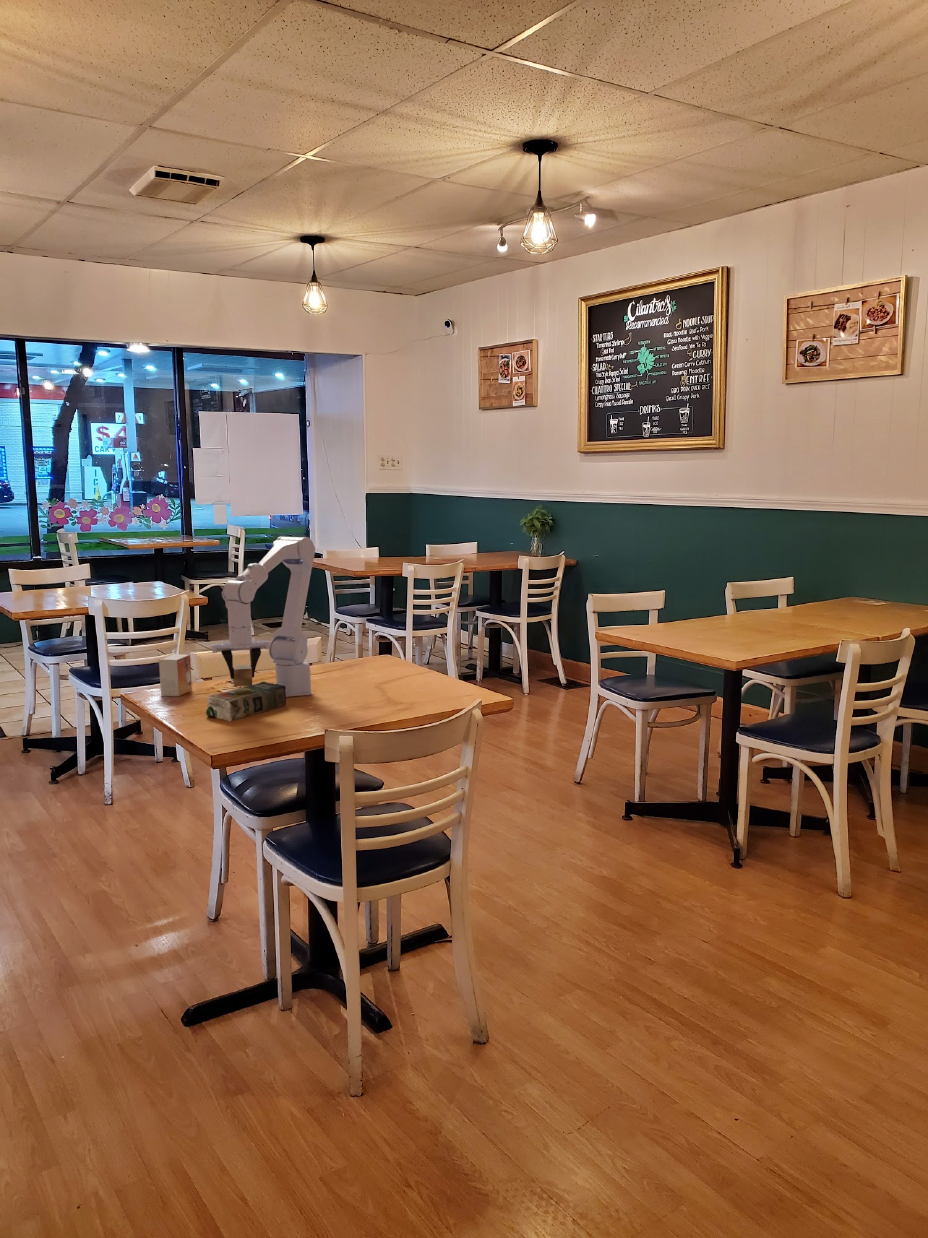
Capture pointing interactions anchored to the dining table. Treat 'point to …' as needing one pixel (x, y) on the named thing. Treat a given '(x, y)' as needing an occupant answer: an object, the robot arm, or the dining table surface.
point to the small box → (175, 675)
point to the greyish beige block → (242, 675)
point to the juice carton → (246, 701)
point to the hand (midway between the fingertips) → (242, 677)
